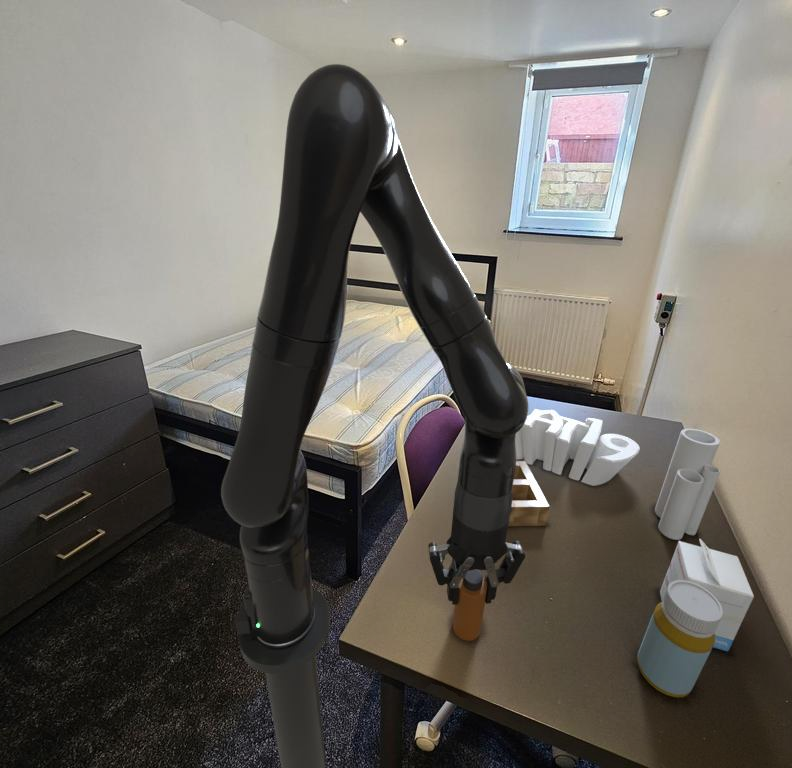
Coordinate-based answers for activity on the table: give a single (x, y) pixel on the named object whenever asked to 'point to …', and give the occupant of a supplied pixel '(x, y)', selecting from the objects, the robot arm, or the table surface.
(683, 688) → the bottle
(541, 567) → the table surface
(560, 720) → the table surface
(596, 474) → the white foam letters
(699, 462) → the vase
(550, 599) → the table surface
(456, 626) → the small bottle
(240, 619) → the robot arm
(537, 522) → the hole block
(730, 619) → the tissue box
